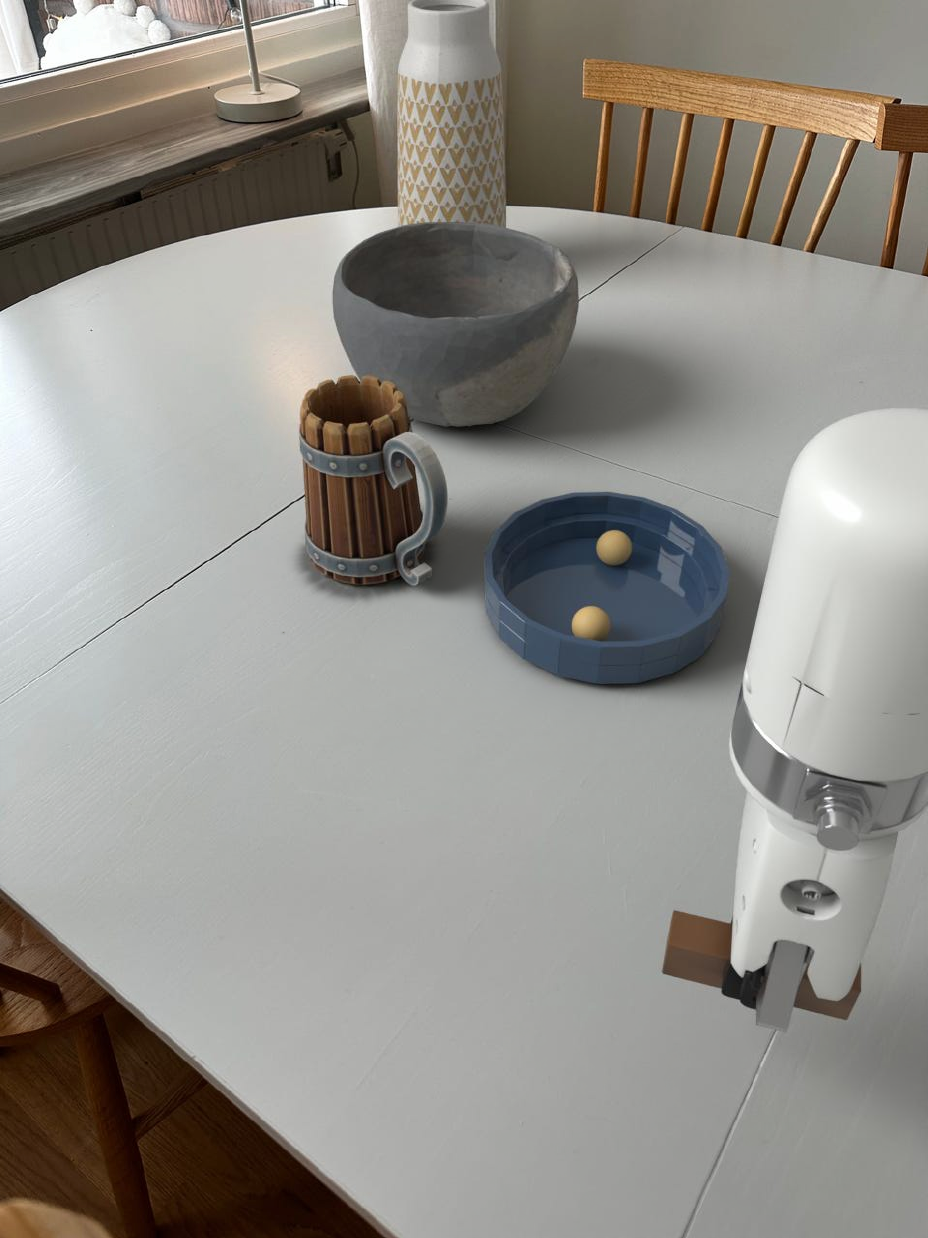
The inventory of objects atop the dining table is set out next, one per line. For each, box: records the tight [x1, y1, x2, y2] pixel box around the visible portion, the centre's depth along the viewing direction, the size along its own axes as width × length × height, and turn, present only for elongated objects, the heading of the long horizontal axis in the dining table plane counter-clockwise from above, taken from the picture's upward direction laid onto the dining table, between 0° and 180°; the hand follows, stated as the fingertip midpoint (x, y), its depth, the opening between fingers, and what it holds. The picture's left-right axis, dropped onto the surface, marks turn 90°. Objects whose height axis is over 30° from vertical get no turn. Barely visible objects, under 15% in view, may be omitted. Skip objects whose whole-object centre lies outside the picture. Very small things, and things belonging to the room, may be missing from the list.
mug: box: [298, 374, 449, 586], centre depth 80 cm, size 16×11×15 cm
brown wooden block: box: [661, 909, 862, 1021], centre depth 48 cm, size 9×2×3 cm, turn 73°
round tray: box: [483, 491, 731, 685], centre depth 79 cm, size 19×19×4 cm
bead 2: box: [596, 530, 632, 566], centre depth 83 cm, size 3×3×3 cm
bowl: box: [332, 222, 580, 428], centre depth 100 cm, size 24×24×15 cm
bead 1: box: [572, 606, 611, 642], centre depth 76 cm, size 3×3×3 cm
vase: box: [396, 0, 507, 228], centre depth 118 cm, size 14×14×31 cm
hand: (756, 971), depth 49 cm, fingers closed on brown wooden block, 2 cm apart
